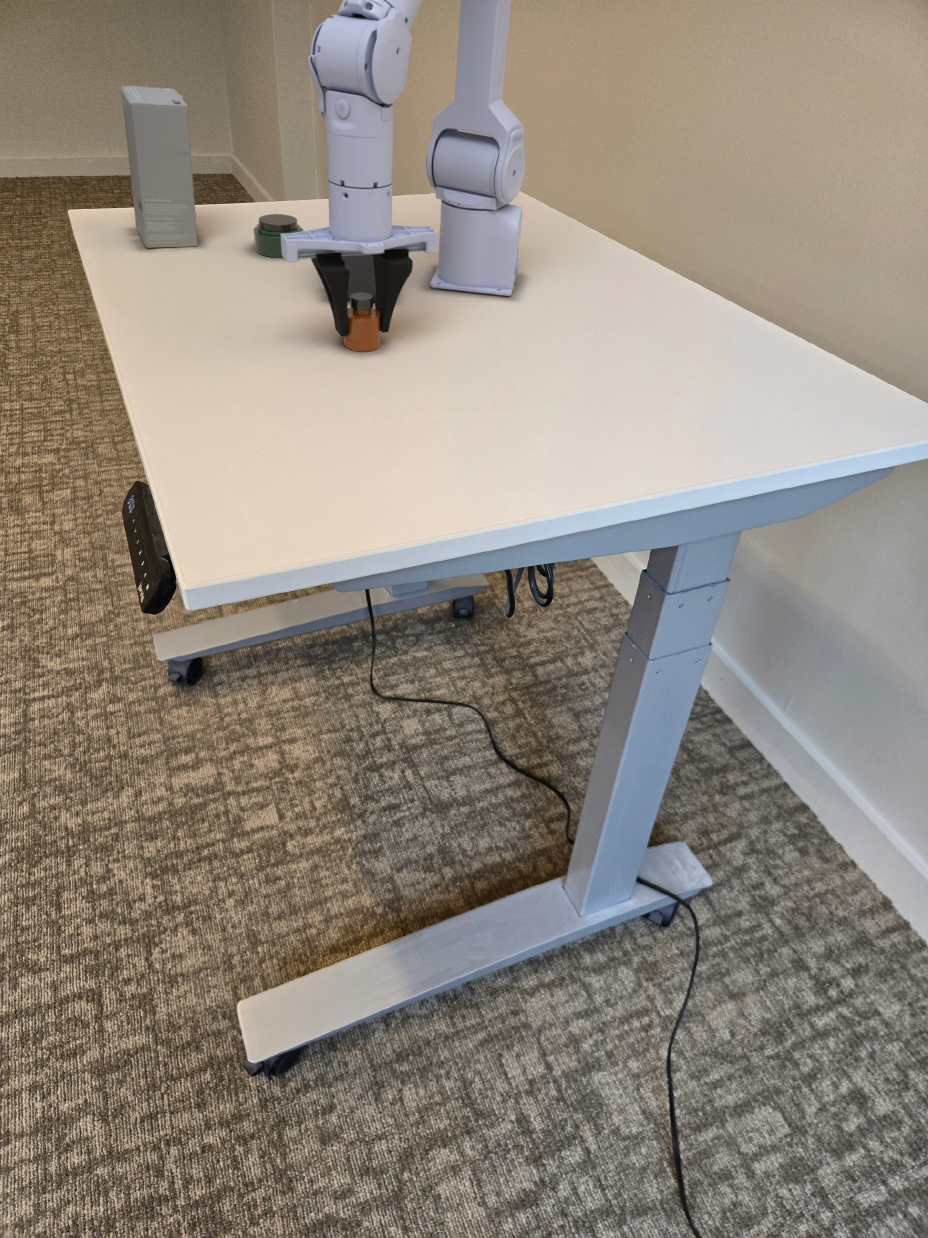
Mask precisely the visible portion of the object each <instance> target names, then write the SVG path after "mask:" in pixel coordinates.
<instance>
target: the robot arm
mask: <svg viewBox="0 0 928 1238" xmlns="http://www.w3.org/2000/svg"><path fill="white" fill-rule="evenodd" d="M422 1H423V0H342V1H341V3H340V5H339V8H338V12H337V14H331V15H330V17H327V18H326V19H325V20H324V21H322V22H321V23H319V25H318V26H317V28H316V29H315V31H314V33H313V37H312V41H311V47H310V55H308V57H307V58H308V59H307V60H308V61H307V62H308V69H309V75H310V78H311V81H312V83H313V85H314V87H315V89H316V93H317V99H318V112H320V116H321V118H322V119H324V120H325V129H326V130H325V132H326V137H325V138H326V161H327V162H326V165H327V167H326V168H327V169H326V171H327V192H328V193H327V194H328V195H327V196H328V224H329V226H324V227H319V228H313V229H308V230H304V231H301V232H295V233H284V234H280V235H281V250H282V256H283V258H282V259H284V260H285V261H286V262H287V263H296V262H299V260H304V259H305V260H307V259H310V260H311V262H312V264H313V266H314V268H315V271H316V272H317V275H318V277H319V279H320V281H321V283H322V286H323V289H324V290H325V294H326V296H327V300H328V302H329V305H330V309H331V312H332V317H333V322H334V329H335V331H336V332H337V333H338V335H339V336H340V337H341V338H342V337H343V338H344V336H348V330H349V324H348V309H347V308H348V301H347V298H348V285H349V277H350V272H349V271H348V270H347V269H346V268H345V261H343V260H342V256H355V255H371V254H373V262H374V271H375V285H376V298H375V302H374V309H377V310H378V311H379V312H380V333H382V334H383V333H389V331H390V326H391V322H392V318H393V313H394V311H395V308H396V304H397V301H398V298H399V297H400V294H401V292H402V290H403V288H404V286H405V284H406V282H407V281H408V279H409V277H410V275H411V274H412V271H413V266H414V260H413V259H412V258H411V257H410V253H418V252H424V253H425V254H437V252H438V260H437V261H438V263H437V264H438V266H437V268H436V270H435V272H434V274H433V276H432V278H431V281H430V283H429V286H430V288H433V289H442V290H451V291H459V292H460V291H461V292H469V293H478V294H487V295H495V296H504V297H505V296H507V297H510V296H512V294H513V291H514V286H515V283H516V278H517V276H518V275H519V271H520V262H521V259H520V258H519V249H520V240H521V230H522V220H523V207H522V206H520V205H516V204H515V205H514V204H511V203H512V202H513V201H514V200H515V198H516V197H518V194H519V193H520V190H521V189H522V185H523V182H524V179H525V173H526V153H525V126H524V124H523V123H522V121H520V119H519V118H518V117H517V116H516V115H515V114H514V112H512V110H511V109H510V108H509V107H508V106H507V105H506V103H505V101H504V99H503V95H504V85H505V84H504V83H505V75H506V73H505V72H506V63H507V54H508V42H509V30H510V28H509V27H510V20H511V9H512V0H460V8H459V9H460V10H459V25H458V41H457V55H456V56H457V57H456V73H455V86H454V87H455V89H454V99H453V101H451V102H450V103H449V104H448V105H446V106H445V107H443V108H442V109H441V110H440V111H438V112H437V114H436V115H435V116H434V117H433V119H432V126H431V127H432V128H431V134H430V135H431V136H430V140H429V143H428V146H427V150H426V156H425V171H426V177H427V179H428V183H429V185H430V187H431V188H432V189H433V190H434V191H435V199H437V200H440V219H439V238H438V231H437V229H435V228H434V227H432V226H431V225H400V224H393V167H394V165H393V163H394V161H393V159H394V157H393V156H394V155H393V154H394V152H393V151H394V103H395V102H396V101H397V100H398V99H399V97H400V96H401V94H402V92H403V90H404V88H405V87H406V84H407V79H408V74H409V62H410V61H409V59H410V52H411V49H412V41H413V36H412V34H411V32H410V31H411V29H412V27H413V24H414V21H415V18H416V17H417V14H418V12H419V9H420V7H421V4H422ZM438 239H439V241H438Z"/></svg>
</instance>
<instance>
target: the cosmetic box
mask: <svg viewBox="0 0 928 1238" xmlns="http://www.w3.org/2000/svg"><path fill="white" fill-rule="evenodd" d="M120 93H121V94H120V95H121V101H122V102H121V103H122V110H123V120H124V128H125V138H126V146H127V155H128V164H129V173H130V174H129V175H130V183H131V191H132V201H133V202H132V203H133V211H134V219H135V220H134V221H135V227H136V231H137V234H138V235H139V238H140V239H141V241H142V244H143V245H144V246H145V247H146V248H149V249H150V248H180V247H186V248H187V247H198V246H199V242H198V231H197V230H198V229H197V219H196V204H195V189H194V177H193V176H194V175H193V163H192V147H191V146H192V145H191V133H190V132H191V131H190V120H189V119H190V118H189V117H190V116H189V107H188V104H187V103H186V102H185V101H184V100H183V98H184V96H183V95H182V94H179V92H178V91H177V90H176V89H175V88H170V87H169V88H168V87H151V86H140V85H138V86H137V85H121V86H120Z"/></svg>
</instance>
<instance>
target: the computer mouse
mask: <svg viewBox="0 0 928 1238" xmlns="http://www.w3.org/2000/svg"><path fill="white" fill-rule="evenodd" d="M342 260H343V261H345V268H346V269H347V270H348V271H349V272H350V277H349V285H348V298H347V302H350V296H351V294H353V293H359V292H362V293H368V294H371V295H372V296H373V303H375V298H376V285H375V271H374V262H373V254H371V255H355V256H342Z"/></svg>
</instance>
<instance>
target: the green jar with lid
mask: <svg viewBox="0 0 928 1238" xmlns="http://www.w3.org/2000/svg"><path fill="white" fill-rule="evenodd" d="M301 231H305V230H304V228H303V227H301V226H300V225H299V223H298V218H296V217H295V216H292V215H289V214H282V213H270V214H264V215H261V216H260V217H258V223H257V224H256V226H254V228H253V239H254V240H253V241H254V250H255V252H256V253H257V254H258V255H261V256H263V257H268V258H276V259H284V258H283V256H282V250H281V235H280V234H284V233H295V232H301Z"/></svg>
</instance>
